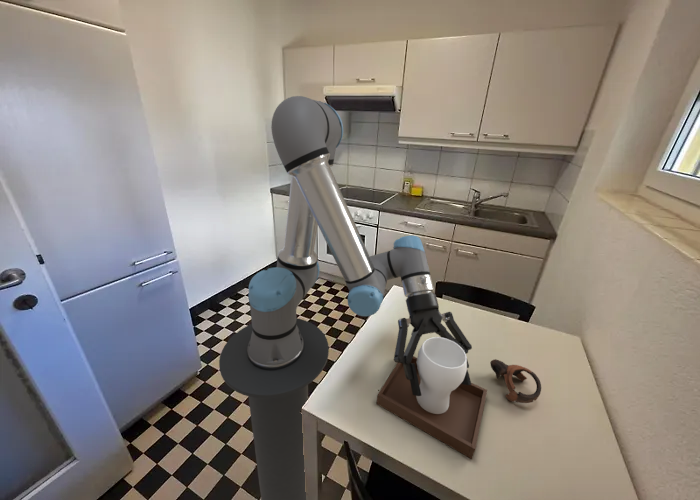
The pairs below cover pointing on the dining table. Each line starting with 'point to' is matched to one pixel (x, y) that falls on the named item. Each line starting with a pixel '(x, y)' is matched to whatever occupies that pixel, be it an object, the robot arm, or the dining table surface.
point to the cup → (439, 372)
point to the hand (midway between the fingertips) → (442, 389)
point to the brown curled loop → (507, 372)
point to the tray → (448, 427)
